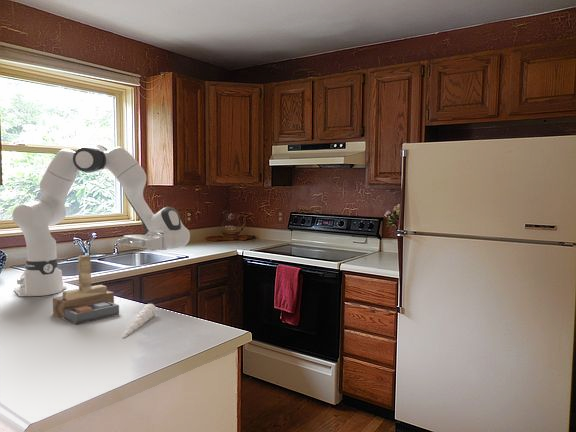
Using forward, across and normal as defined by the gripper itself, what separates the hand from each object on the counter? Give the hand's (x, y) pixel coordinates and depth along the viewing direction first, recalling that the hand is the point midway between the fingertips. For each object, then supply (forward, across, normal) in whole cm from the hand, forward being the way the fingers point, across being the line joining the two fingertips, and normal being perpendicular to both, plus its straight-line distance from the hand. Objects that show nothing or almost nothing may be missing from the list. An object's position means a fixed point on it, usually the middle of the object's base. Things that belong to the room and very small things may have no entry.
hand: (124, 243), depth 174 cm
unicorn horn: (+13, +32, +23) cm, 42 cm away
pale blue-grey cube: (+16, +12, +19) cm, 28 cm away
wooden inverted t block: (+17, +4, +17) cm, 25 cm away
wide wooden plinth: (+17, +2, +23) cm, 29 cm away
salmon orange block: (+22, +12, +19) cm, 32 cm away
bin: (+19, +12, +23) cm, 32 cm away
